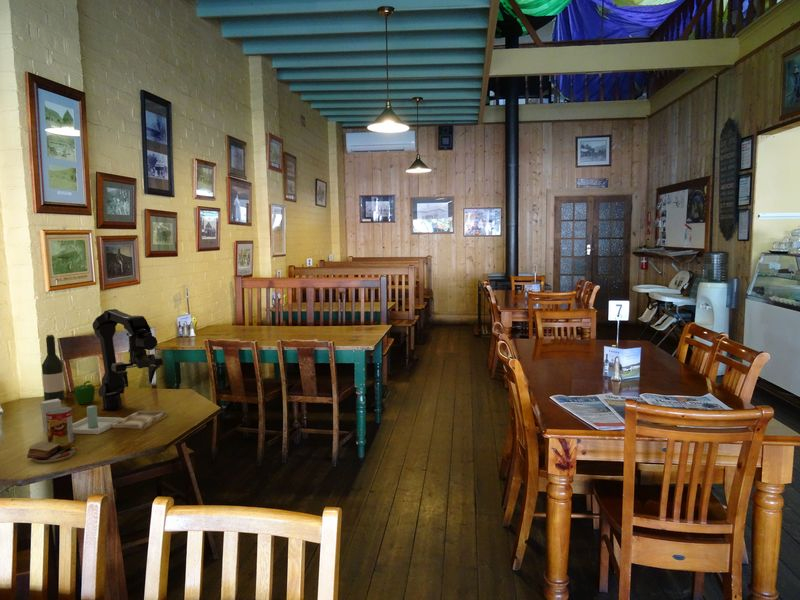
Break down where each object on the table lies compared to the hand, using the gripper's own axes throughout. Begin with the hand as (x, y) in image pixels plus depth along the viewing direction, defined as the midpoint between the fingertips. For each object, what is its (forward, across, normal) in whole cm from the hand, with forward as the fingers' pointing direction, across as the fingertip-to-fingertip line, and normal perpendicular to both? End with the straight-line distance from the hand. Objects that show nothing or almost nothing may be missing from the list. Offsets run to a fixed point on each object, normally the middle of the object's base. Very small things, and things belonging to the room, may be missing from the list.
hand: (139, 384), depth 232 cm
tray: (+14, -2, -6) cm, 15 cm away
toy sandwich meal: (+14, -38, -23) cm, 46 cm away
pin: (+13, -18, 0) cm, 22 cm away
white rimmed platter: (+14, -18, 0) cm, 23 cm away
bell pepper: (+14, -9, +41) cm, 44 cm away
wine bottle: (+14, -17, +59) cm, 63 cm away
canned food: (+14, -31, -9) cm, 35 cm away
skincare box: (+14, -30, +7) cm, 34 cm away
